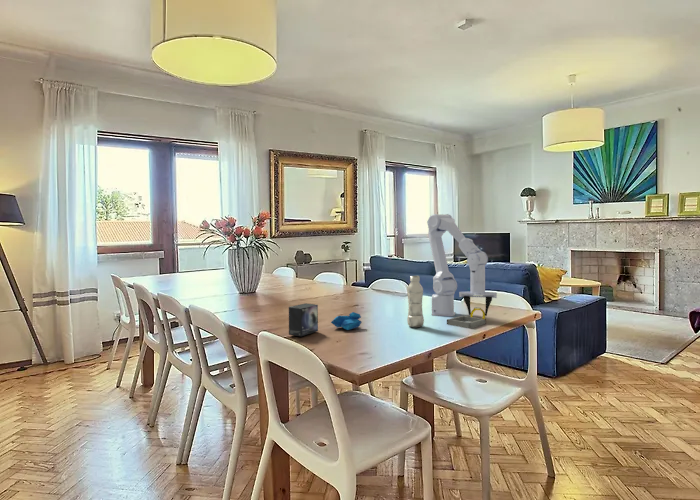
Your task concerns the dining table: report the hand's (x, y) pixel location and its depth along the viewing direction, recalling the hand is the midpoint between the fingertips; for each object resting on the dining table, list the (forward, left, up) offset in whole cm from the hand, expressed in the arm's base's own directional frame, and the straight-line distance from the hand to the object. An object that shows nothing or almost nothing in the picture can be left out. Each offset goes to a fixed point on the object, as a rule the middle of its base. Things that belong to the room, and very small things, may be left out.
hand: (477, 315), depth 177 cm
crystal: (-44, -19, 0) cm, 48 cm away
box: (-4, -8, -3) cm, 9 cm away
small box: (-62, -34, -3) cm, 71 cm away
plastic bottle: (-23, -15, -3) cm, 27 cm away
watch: (0, 0, -3) cm, 3 cm away
